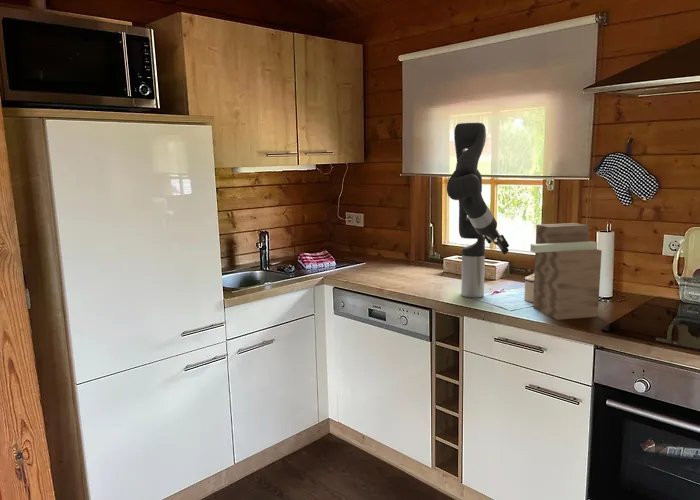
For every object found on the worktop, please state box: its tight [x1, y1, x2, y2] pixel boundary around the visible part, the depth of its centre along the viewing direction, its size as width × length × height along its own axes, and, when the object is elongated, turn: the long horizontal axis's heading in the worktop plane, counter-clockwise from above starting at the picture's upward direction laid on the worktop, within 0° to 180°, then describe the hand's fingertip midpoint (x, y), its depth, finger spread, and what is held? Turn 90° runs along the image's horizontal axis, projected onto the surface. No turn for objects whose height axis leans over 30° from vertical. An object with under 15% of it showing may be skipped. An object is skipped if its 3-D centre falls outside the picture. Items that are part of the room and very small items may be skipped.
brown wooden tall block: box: [532, 222, 603, 320], centre depth 194 cm, size 16×16×32 cm
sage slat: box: [529, 240, 598, 253], centre depth 187 cm, size 3×24×2 cm, turn 101°
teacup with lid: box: [523, 271, 535, 303], centre depth 214 cm, size 12×9×12 cm
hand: (498, 247), depth 191 cm, fingers open, 8 cm apart
